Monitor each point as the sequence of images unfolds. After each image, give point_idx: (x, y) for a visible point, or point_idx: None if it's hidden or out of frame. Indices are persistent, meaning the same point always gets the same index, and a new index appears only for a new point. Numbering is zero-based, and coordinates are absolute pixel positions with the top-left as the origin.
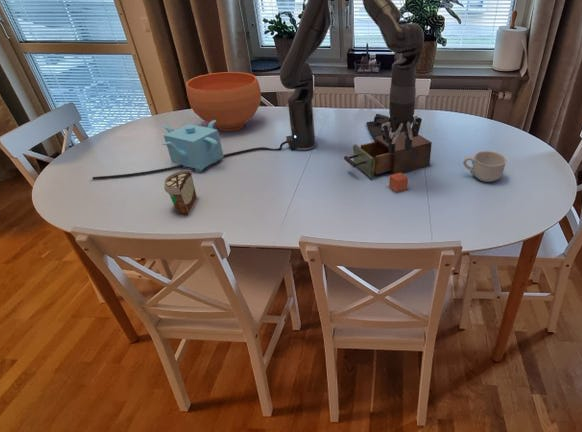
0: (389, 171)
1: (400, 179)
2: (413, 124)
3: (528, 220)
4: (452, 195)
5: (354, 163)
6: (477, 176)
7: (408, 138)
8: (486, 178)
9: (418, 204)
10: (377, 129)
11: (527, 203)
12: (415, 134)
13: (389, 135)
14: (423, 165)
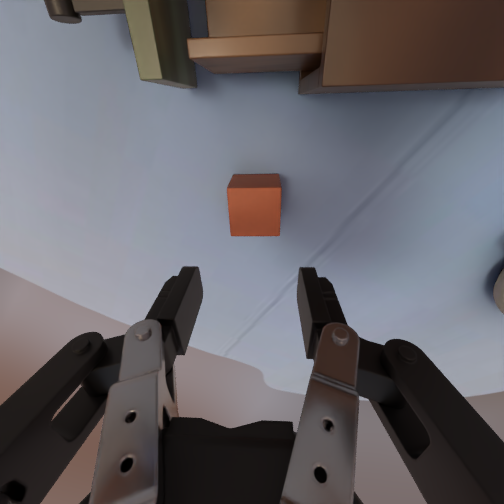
0: None
1: (248, 234)
2: (464, 488)
3: None
4: (361, 293)
5: (55, 12)
6: (497, 286)
7: (315, 356)
8: (498, 307)
9: (258, 286)
10: None
11: (455, 368)
12: (376, 404)
13: (121, 373)
14: (472, 88)
